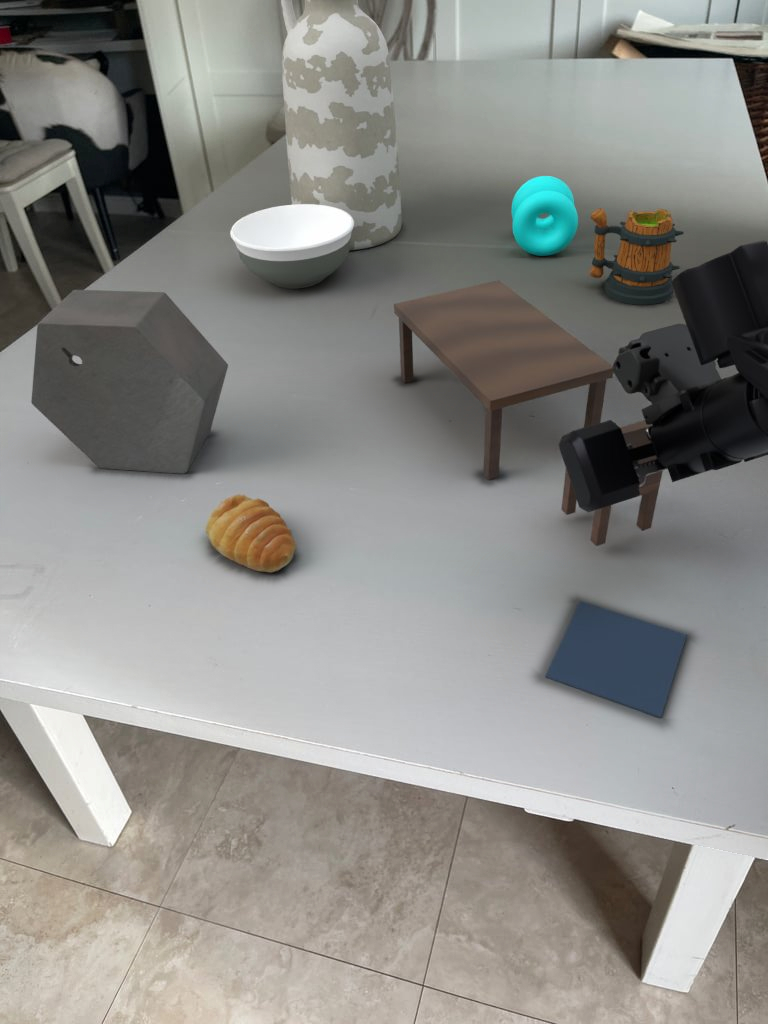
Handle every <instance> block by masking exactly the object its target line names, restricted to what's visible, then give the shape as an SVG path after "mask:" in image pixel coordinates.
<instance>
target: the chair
mask: <svg viewBox="0 0 768 1024" xmlns="http://www.w3.org/2000/svg"><path fill="white" fill-rule="evenodd" d="M651 426H653V425H652V424H650V425H647V424H646V422H645V419H643V420H640V421H636V422H634V423H633V422H632V423H629V424H627V425H626V424H625V425H623V426H619V427H620V428H621V430H622V433H623V436H624V439H625V442H626V445H629V444H632V446H633V448H636V447H639V446H642V445H646V444H649V443H651V440H650V441H649V439H648V438H647V435H646V432H645V430H646V429H647V428H648V427H651ZM655 459H657V457H656V456H653V457H650V458H647V459H644V460H640V461H638V464H641V463H644V462H646V463H647V462H648V461H651V460H655ZM635 469H637V468H635ZM663 471H664V470H663ZM663 471H659V472H656V473H653V474H650V475H647V476H646V481H645V483H644V485H643V486H641V487H639V492H640V495H638V496H637V497H636V498H638V497H640V496H641V498H640V503H639V509H638V514H637V519H636V524H635V525H636V526H637V527H638V528H639V530H641V531H643V532H644V531H646V530H649V529H651V528H652V525H653V520H654V515H655V510H656V505H657V500H658V496H659V490H660V486H661V481H662V477H663ZM563 481H564V483H563V490H562V491H563V492H562V500H561V511H562V512H563V513H564V514H565V515H566V516H569V515H571V514H575V513H576V510H577V503H578V502H577V499H576V496H575V493H574V490H573V487H572V484H571V481H570V478H569V475H568V472H567V469H566V468H565V473H564V480H563ZM611 510H612V505H610V506H607V507H604V508H601V509H597V510H594V511H593V512H594V513H593V519H592V528H591V535H590V541H591V543H592V544H593V545H594V546H596V547H599V546H602V545H604V544H606V541H607V535H608V529H609V523H610V516H611Z"/></svg>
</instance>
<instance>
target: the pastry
mask: <svg viewBox="0 0 768 1024" xmlns="http://www.w3.org/2000/svg"><path fill="white" fill-rule="evenodd" d="M205 533H206V535H207V537H208V540H209V542H210V544H211V546H212V547H213V548H214V549H215V550H216V551H217V552H218V553H219V554H221V556H223V557H225V558H227V559H229V561H233V562H234V563H236V564H239V566H244V567H246V568H248V569H250V570H253V571H257V572H264V573H265V572H266V573H274V572H278V571H279V570H281V569H282V568H285V567H286V566H288V565H289V563H291V562H292V560H293V558H294V555H295V552H296V548H297V545H298V544H297V543H296V541H295V539H294V537H293V536H292V531H291V529H290V528H288V526H287V523H286V522H285V520H284V518H283V517H282V516H281V514H280V513H279V512H277V511H276V510H275V509H274V508H273V507H271V506H270V504H269V503H268V502H267V501H264V500H262V499H261V498H255V499H253V498H250V497H248V496H247V495H245V494H235V495H232V496H229V497H228V498H226V499H224V500H223V501H221V502H220V503H219V504H218V506H217V507H216V508H215V509H214V510H213V511H212V512H211V514H210V516H209V518H208V521H207V523H206V526H205Z"/></svg>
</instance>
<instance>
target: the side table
mask: <svg viewBox="0 0 768 1024" xmlns="http://www.w3.org/2000/svg"><path fill="white" fill-rule="evenodd" d="M393 313H394V314H395V316H396V317H398V335H399V357H400V358H399V360H400V361H399V362H400V379H401V381H402V382H403V383H404V384H407V383H412V382H414V381H415V380H414V352H413V351H414V348H413V347H414V346H413V334H414V335H415V336H416V337H417V338H418V339H419V340H420V341H421V342H422V343H423V344H424V345H425V346H426V347H427V348H428V349H429V350H430V351H431V352H432V353H433V355H434V356H436V358H437V359H439V360H440V362H442V363H443V364H444V366H445V367H447V369H448V370H449V371H450V372H451V373H452V374H453V375H454V376H455V377H456V378H457V379H458V380H459V381H460V382H461V383H462V384H463V385H464V386H465V387H466V388H467V389H468V390H469V391H470V392H471V393H472V394H473V395H474V396H475V397H476V398H477V399H478V400H479V402H480V403H482V404H483V406H484V407H485V417H484V418H485V419H484V420H485V423H484V449H483V471H482V472H483V473H482V474H483V475H484V477H485V478H486V479H487V480H488V481H490V480H494V479H497V478H499V477H500V476H499V475H500V459H501V458H500V457H501V456H500V455H501V439H502V438H501V437H502V418H503V408H507V407H510V406H514V405H518V404H521V403H524V402H529V401H532V400H536V399H540V398H543V397H547V396H551V395H554V394H557V393H561V392H565V391H570V390H573V389H576V388H580V387H583V386H587V385H588V390H587V391H588V393H587V399H586V406H585V407H586V408H585V415H584V423H583V428H584V427H588V426H591V425H595V424H598V423H602V422H601V421H602V414H603V407H604V400H605V394H606V387H607V380H609V379H613V378H614V372H613V365H611V364H610V363H609V362H607V361H606V360H605V359H603V358H602V357H601V356H600V355H598V354H597V353H595V351H593V350H592V349H590V348H589V347H588V346H587V345H586V344H584V343H583V342H581V341H580V340H578V339H577V338H576V337H575V336H574V335H572V334H571V333H569V332H568V331H567V330H565V329H564V328H563V327H562V326H560V325H559V324H558V323H556V322H555V321H554V320H552V319H551V318H550V317H548V316H547V315H546V314H544V312H542V311H540V310H539V309H538V308H537V307H535V306H534V305H533V304H531V303H530V302H529V301H527V300H526V299H525V298H523V297H522V296H521V295H520V294H518V293H517V292H515V291H514V290H513V289H511V288H510V287H509V286H508V285H507V284H505V283H504V282H503V281H501V280H500V279H498V280H494V281H490V282H489V281H488V282H485V283H484V282H483V283H480V284H476V285H471V286H468V287H463V288H458V289H454V290H450V291H445V292H441V293H435V294H432V295H428V296H427V295H426V296H422V297H418V298H414V299H409V300H405V301H401V302H396V303H393Z"/></svg>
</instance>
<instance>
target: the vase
mask: <svg viewBox="0 0 768 1024" xmlns="http://www.w3.org/2000/svg"><path fill="white" fill-rule="evenodd" d="M303 2H304V11H303V13H302V15H301V16H299V18H298V19H297V17H296V12H295V10H294V5H293V0H280V3H281V4H280V5H281V10H282V17H283V20H284V21H283V22H284V25H285V29H286V33H287V35H286V37H285V40H284V43H283V46H282V52H281V53H282V54H281V55H282V56H281V74H282V75H281V76H282V90H283V91H282V93H283V109H284V122H285V123H284V124H285V139H286V153H287V164H288V177H289V187H290V199H291V205H296V204H315V205H325V206H330V207H335V208H338V209H341V210H343V211H345V212H347V213H348V214H349V215H350V216H351V217H352V218H353V220H354V227H353V230H352V232H351V239H350V250H349V251H356V250H357V251H358V250H363V249H368V248H372V247H377V246H380V245H382V244H385V243H387V242H390V241H391V240H393V239H394V238H395V237H396V236H398V235H399V234H400V232H401V229H402V224H403V222H402V221H403V218H402V198H401V197H402V196H401V180H400V179H401V178H400V164H399V163H400V162H399V161H400V160H399V149H398V136H397V123H396V111H395V100H394V89H393V79H392V69H391V68H392V67H391V61H390V60H391V58H390V52H389V48H388V44H387V40H386V38H385V36H384V35H383V32H382V30H381V28H380V27H379V26H378V24H377V23H376V22H375V21H374V20H373V19H372V18H371V17H370V16H369V15H367V13H365V12H364V11H363V10H362V9H361V7H360V5H359V0H303Z"/></svg>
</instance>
